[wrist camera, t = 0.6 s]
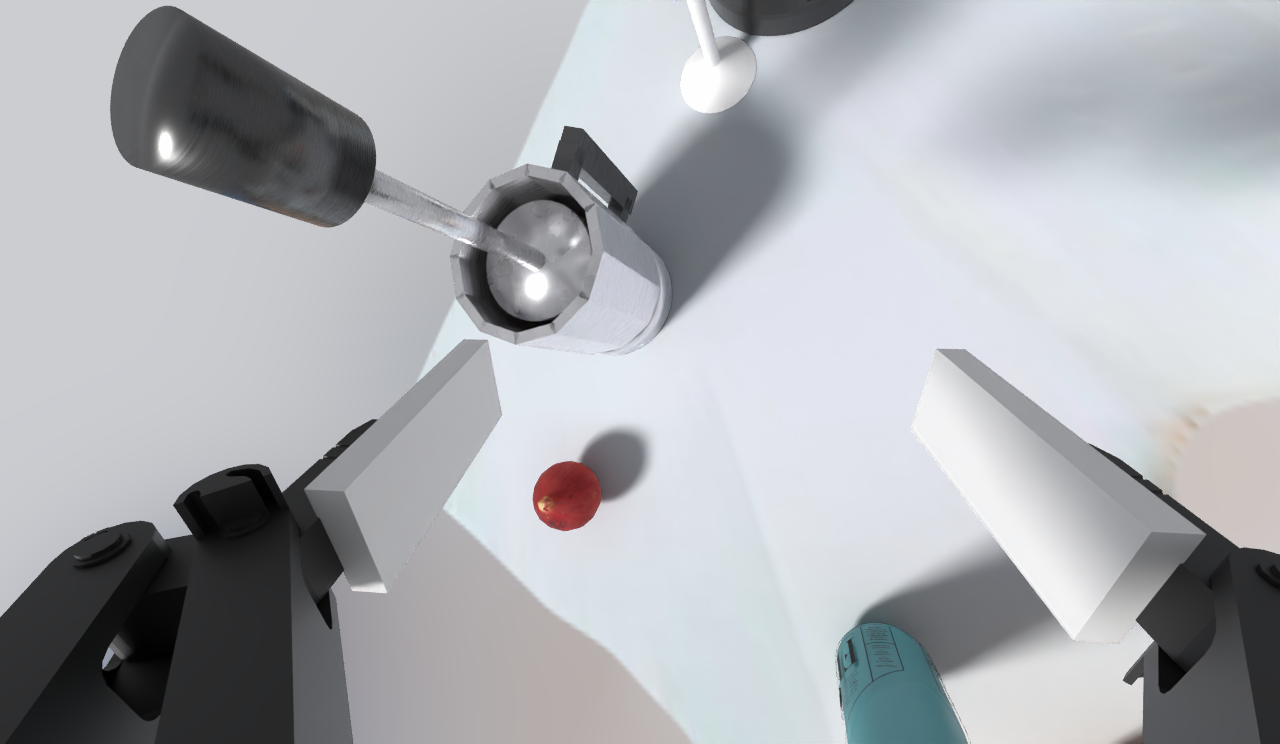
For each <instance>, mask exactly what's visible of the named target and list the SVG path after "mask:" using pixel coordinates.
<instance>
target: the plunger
mask: <svg viewBox="0 0 1280 744" xmlns="http://www.w3.org/2000/svg"><path fill="white" fill-rule="evenodd" d="M110 106H111V107H110V113H111V125H112V131H113V136H114V139H115V142H116V145H117V147H118V149H119V151H120V153H121V155H122V156H123V158H124V159H125V160H126V161H127V162H128V163H130V164H131V165H132V166H135V167H137V168H140V169H143V170H146V171H149V172H152V173H155V174H158V175H162V176H165V177H168V178H171V179H174V180H177V181H180V182H183V183H187V184H190V185H193V186H196V187H199V188H202V189H205V190H208V191H211V192H215V193H218V194H221V195H224V196H227V197H230V198H233V199H236V200H239V201H243V202H246V203H249V204H252V205H255V206H258V207H261V208H264V209H268V210H271V211H274V212H277V213H280V214H283V215H286V216H290V217H292V218H296V219H299V220H302V221H305V222H308V223H311V224H314V225H317V226H321V227H334V226H338V225H340V224H342V223H344V222H346V221H347V220H349V219H350V218H351V217H352V216H353V215H354V214H355V213H356V212H357V211H358V210H359V209H360V207H361V206H362V204H363V203H364V202H366V203H368V204H370V205H373V206H375V207H378V208H380V209H383V210H385V211H388V212H390V213H392V214H395V215H397V216H400V217H402V218H405V219H407V220H410V221H412V222H414V223H417V224H420V225H422V226H424V227H427V228H429V229H432V230H434V231H436V232H439V233H442V234H444V235H446V236H449V237H451V238H454V239H456V240H458V241H461V242H463V243H466V244H468V245H471V246H473V247H476V248H478V249H480V250H483V251H485V252H488V254H487V261H486V271H487V279H488V284H489V287H490V290H491V292H492V294H493V296H494V298H495V299H496V301H497V302H498V304H499V305H500V306H501V307H502V308H503V309H504V310H505V311H506V312H507V313H509V314H511V315H512V316H514V317H517V318H519V319H523V320H527V321H531V322H548V321H553V320H555V319H556V318H557V317H558V316H559V315H560V314H561V313H562V312H563V311H564V310H565V309H566V308H567V307H568V305H569V304H570V303H571V302H572V301H573V300H574V299H575V298H576V297H577V296H578V295H579V294H580V291H581V288H582V285H583V282H584V278H585V275H586V272H587V268H588V265H589V262H590V258H591V255H592V252H593V251H592V246H591V240H590V234H589V229H588V227H587V225H586V224H585V223H584V221H583V220H582V219H581V218H580V217H579V216H578V215H577V214H576V213H574V212H573V211H571V210H570V209H569V208H567V207H566V206H564V205H562V204H560V203H557V202H554V201H548V200H539V201H533V202H529V203H526V204H524V205H522V206H520V207H518V208H517V209H515V210H514V211H512V212H511V213H510V214H509V215H508V216H507V217H506V218H505V219H504V220H503V221H502V222H501V224H500V225H499V226H498V228H497V229H495V228H493V227H491V226H489V225H487V224H485V223H483V222H481V221H479V220H477V219H475V218H473V217H471V216H469V215H467V214H465V213H463V212H461V211H458V210H457V209H455V208H452V207H451V206H449V205H446V204H444V203H442V202H440V201H438V200H436V199H434V198H432V197H430V196H428V195H426V194H424V193H422V192H420V191H418V190H416V189H414V188H412V187H410V186H408V185H406V184H404V183H402V182H400V181H398V180H396V179H394V178H392V177H390V176H388V175H386V174H384V173H382V172H380V171H378V170H376V169H375V166H376V150H375V144H374V139H373V136H372V133H371V131H370V129H369V127H368V126H367V124H366V123H365V121H364V120H363V119H362V118H361V117H359V116H358V115H356V114H355V113H353V112H352V111H350V110H348V109H347V108H345V107H343V106H341V105H340V104H338V103H336V102H335V101H333V100H331V99H329V98H328V97H326V96H325V95H323V94H321V93H320V92H318V91H316V90H315V89H313V88H311V87H310V86H308V85H306V84H305V83H303V82H301V81H299V80H298V79H296V78H294V77H293V76H291V75H289V74H288V73H286V72H284V71H283V70H281V69H279V68H278V67H276V66H274V65H273V64H271V63H269V62H268V61H266V60H264V59H263V58H261V57H259V56H258V55H256V54H254V53H253V52H251V51H249V50H247V49H246V48H244V47H242V46H241V45H239V44H238V43H236V42H234V41H232V40H231V39H229V38H227V37H226V36H224V35H222V34H220V33H219V32H217V31H215V30H214V29H212V28H211V27H209V26H207V25H205V24H204V23H202V22H201V21H199V20H197V19H195V18H194V17H192V16H191V15H189V14H187V13H186V12H184V11H182V10H180V9H178V8H176V7H173V6H163V7H159V8H157V9H155V10H153V11H151V12H150V13H148V14H147V15H146V16H145V17H144V18H143V19H142V20H141V21H140V22H139V23H138V24H137V26H136V27H135V28H134V30H133V31H132V33H131V34H130V36H129V38H128V40H127V41H126V43H125V46H124V48H123V50H122V52H121V55H120V58H119V60H118V64H117V67H116V70H115V75H114V79H113V85H112V92H111V105H110Z"/></svg>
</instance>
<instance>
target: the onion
mask: <svg viewBox="0 0 1280 744" xmlns="http://www.w3.org/2000/svg"><path fill="white" fill-rule="evenodd" d="M600 501H601V488H600V484H599V480H598V479H597V477H596V476H595V474H594V473H593V471H592V470H591V469H589V468H588V467H586V466H585V465H583V464H582V463H577V462H572V461H567V462H562V463H557V464H555V465H553V466H551V467H550V468H549V469H547V470H546V471H545V472H544V473H542V475H541V476H540V477H539V479H538V481H537V483H536V485H535V488H534V493H533V503H534V509H535V511H536V513H537V515H538V517H539V519H540V520H541V521H543V522H544V523H545V524H546V525H548V526H549V527H551V528H555V529H558V530H562V531H569V530H573V529H577V528H580V527H582V526H584V525H585V524H586V523H587V522H588V521H589V520H591V519H592V518H593V516H594V515H595V513H596V511H597V509H598V507H599V505H600Z"/></svg>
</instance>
